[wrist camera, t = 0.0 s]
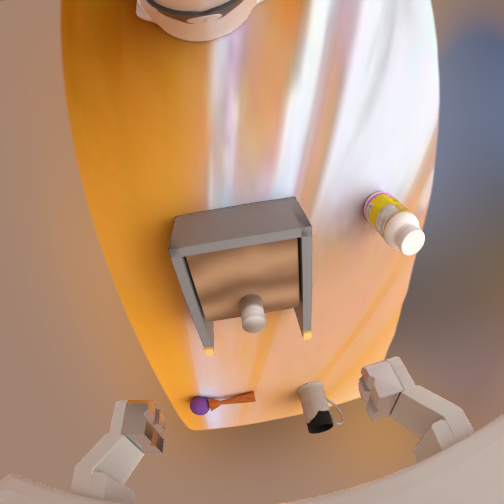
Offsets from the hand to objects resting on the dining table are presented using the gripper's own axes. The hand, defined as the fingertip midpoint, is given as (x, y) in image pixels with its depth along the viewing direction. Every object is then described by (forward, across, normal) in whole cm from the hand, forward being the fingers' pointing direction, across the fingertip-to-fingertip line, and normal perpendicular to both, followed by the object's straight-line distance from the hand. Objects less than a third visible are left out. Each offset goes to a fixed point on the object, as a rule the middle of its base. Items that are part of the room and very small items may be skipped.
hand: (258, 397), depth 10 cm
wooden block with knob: (+39, 0, +16) cm, 42 cm away
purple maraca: (+46, +14, +68) cm, 83 cm away
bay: (+41, 0, +19) cm, 45 cm away
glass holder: (+47, -16, +74) cm, 89 cm away
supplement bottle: (+40, -26, +11) cm, 49 cm away
